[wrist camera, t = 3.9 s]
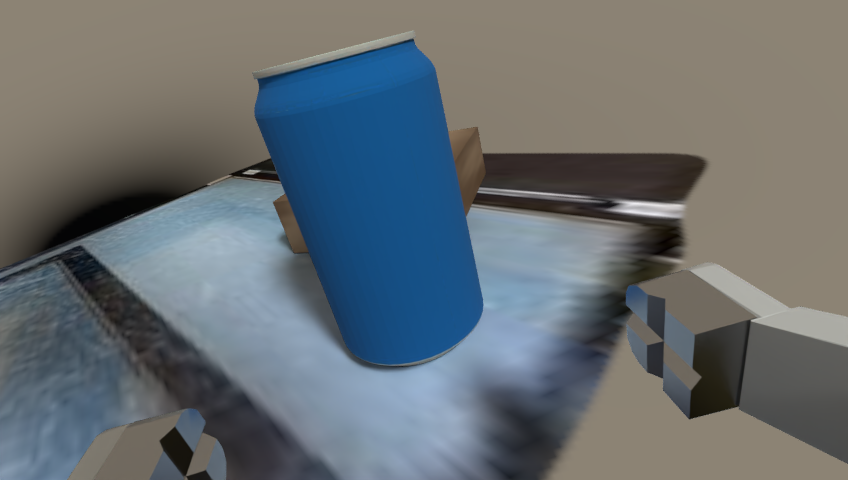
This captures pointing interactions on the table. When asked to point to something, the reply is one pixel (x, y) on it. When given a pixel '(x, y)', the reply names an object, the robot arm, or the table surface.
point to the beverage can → (375, 195)
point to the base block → (467, 170)
